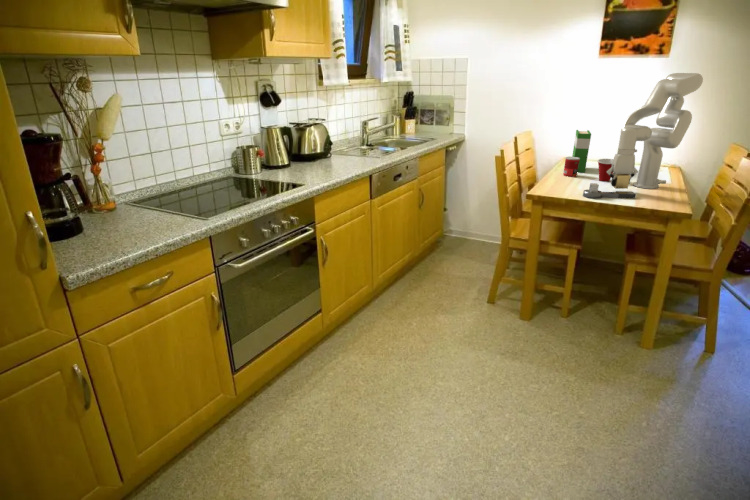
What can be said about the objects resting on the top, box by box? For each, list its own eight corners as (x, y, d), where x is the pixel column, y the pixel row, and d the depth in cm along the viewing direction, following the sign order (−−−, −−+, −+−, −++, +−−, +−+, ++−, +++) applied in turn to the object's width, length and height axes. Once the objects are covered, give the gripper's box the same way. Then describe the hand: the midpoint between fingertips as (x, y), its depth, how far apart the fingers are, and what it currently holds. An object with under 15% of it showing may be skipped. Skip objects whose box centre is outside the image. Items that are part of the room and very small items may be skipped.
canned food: (575, 177, 272) (577, 159, 268) (561, 175, 277) (564, 158, 273) (578, 175, 278) (581, 157, 274) (565, 173, 282) (567, 156, 278)
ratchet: (585, 198, 230) (588, 186, 227) (580, 193, 238) (582, 181, 236) (636, 199, 227) (639, 187, 225) (629, 194, 235) (632, 182, 233)
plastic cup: (590, 180, 265) (594, 160, 260) (598, 177, 272) (601, 157, 267) (610, 183, 257) (614, 162, 253) (617, 180, 264) (621, 160, 260)
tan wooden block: (623, 185, 243) (625, 172, 240) (627, 188, 237) (630, 175, 234) (611, 185, 243) (613, 172, 241) (615, 188, 238) (618, 175, 235)
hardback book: (570, 166, 301) (576, 129, 292) (582, 167, 299) (588, 130, 290) (572, 172, 286) (578, 133, 277) (584, 173, 284) (591, 134, 275)
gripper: (640, 150, 235) (634, 183, 242) (605, 150, 237) (600, 184, 245) (646, 153, 228) (639, 187, 236) (610, 153, 231) (605, 188, 238)
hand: (619, 185), depth 240 cm, fingers closed on tan wooden block, 6 cm apart
